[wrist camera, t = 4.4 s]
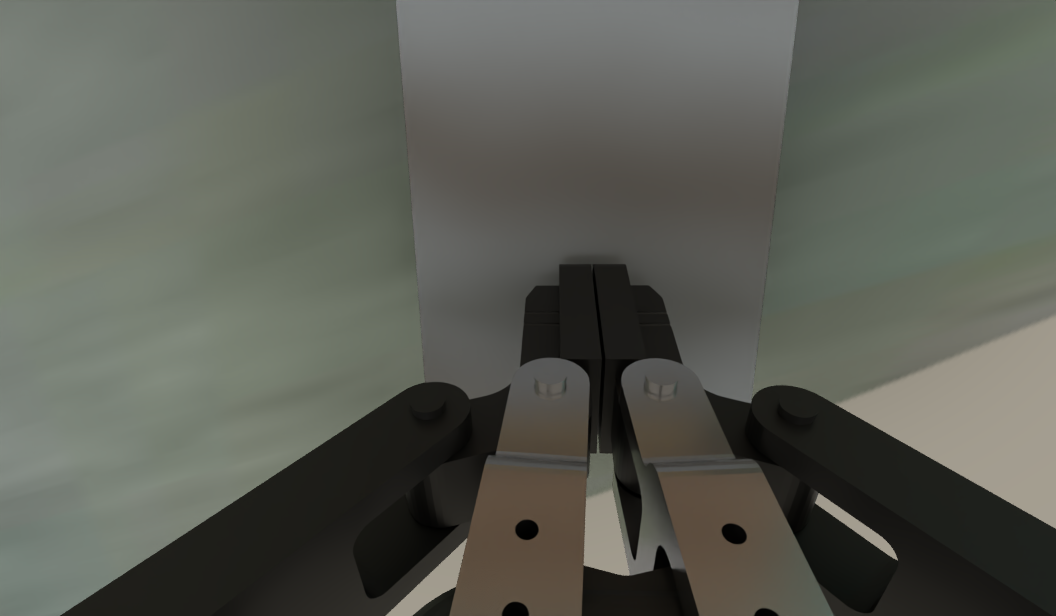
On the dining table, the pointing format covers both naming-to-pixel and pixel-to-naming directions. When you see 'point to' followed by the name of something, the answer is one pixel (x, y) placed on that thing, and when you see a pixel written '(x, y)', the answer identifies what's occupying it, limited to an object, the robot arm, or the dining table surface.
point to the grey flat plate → (593, 167)
